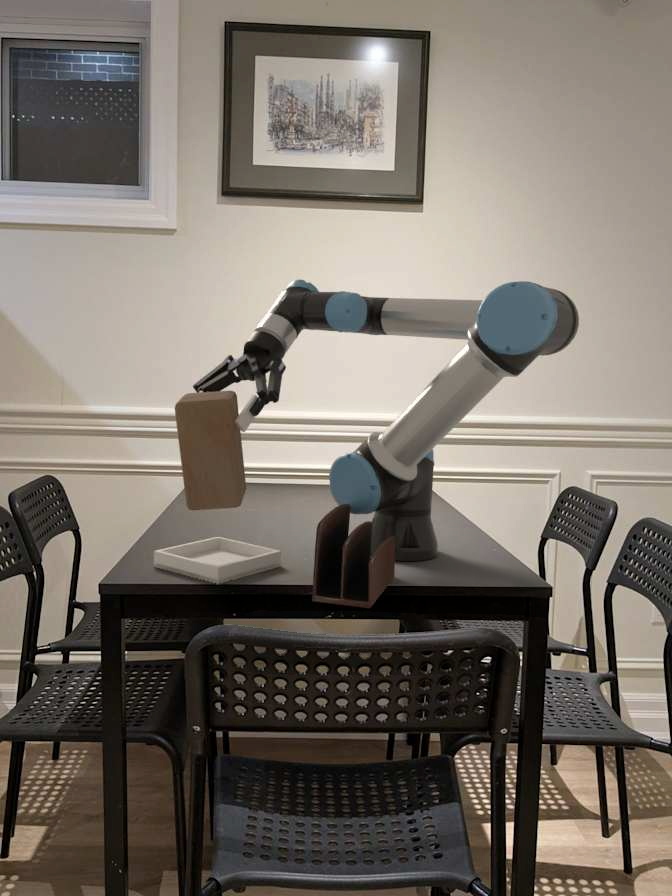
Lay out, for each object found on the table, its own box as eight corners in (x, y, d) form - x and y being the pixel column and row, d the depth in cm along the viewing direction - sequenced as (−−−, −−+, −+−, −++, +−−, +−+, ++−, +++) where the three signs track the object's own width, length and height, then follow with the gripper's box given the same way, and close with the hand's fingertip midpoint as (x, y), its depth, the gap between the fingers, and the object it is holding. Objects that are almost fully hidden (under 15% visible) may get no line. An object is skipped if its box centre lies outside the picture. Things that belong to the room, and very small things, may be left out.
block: (241, 509, 143) (230, 399, 138) (186, 512, 143) (172, 403, 138) (247, 491, 152) (236, 389, 147) (195, 495, 152) (183, 392, 147)
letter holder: (311, 602, 130) (314, 517, 128) (342, 572, 149) (345, 498, 147) (370, 610, 127) (374, 523, 126) (395, 578, 146) (398, 502, 145)
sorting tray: (280, 566, 151) (281, 550, 150) (217, 584, 137) (218, 567, 137) (218, 551, 160) (218, 536, 160) (153, 566, 147) (153, 550, 147)
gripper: (328, 359, 150) (273, 443, 140) (232, 355, 165) (176, 431, 154) (311, 329, 145) (253, 414, 135) (214, 328, 160) (155, 404, 150)
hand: (212, 423), depth 145 cm, fingers closed on block, 13 cm apart
